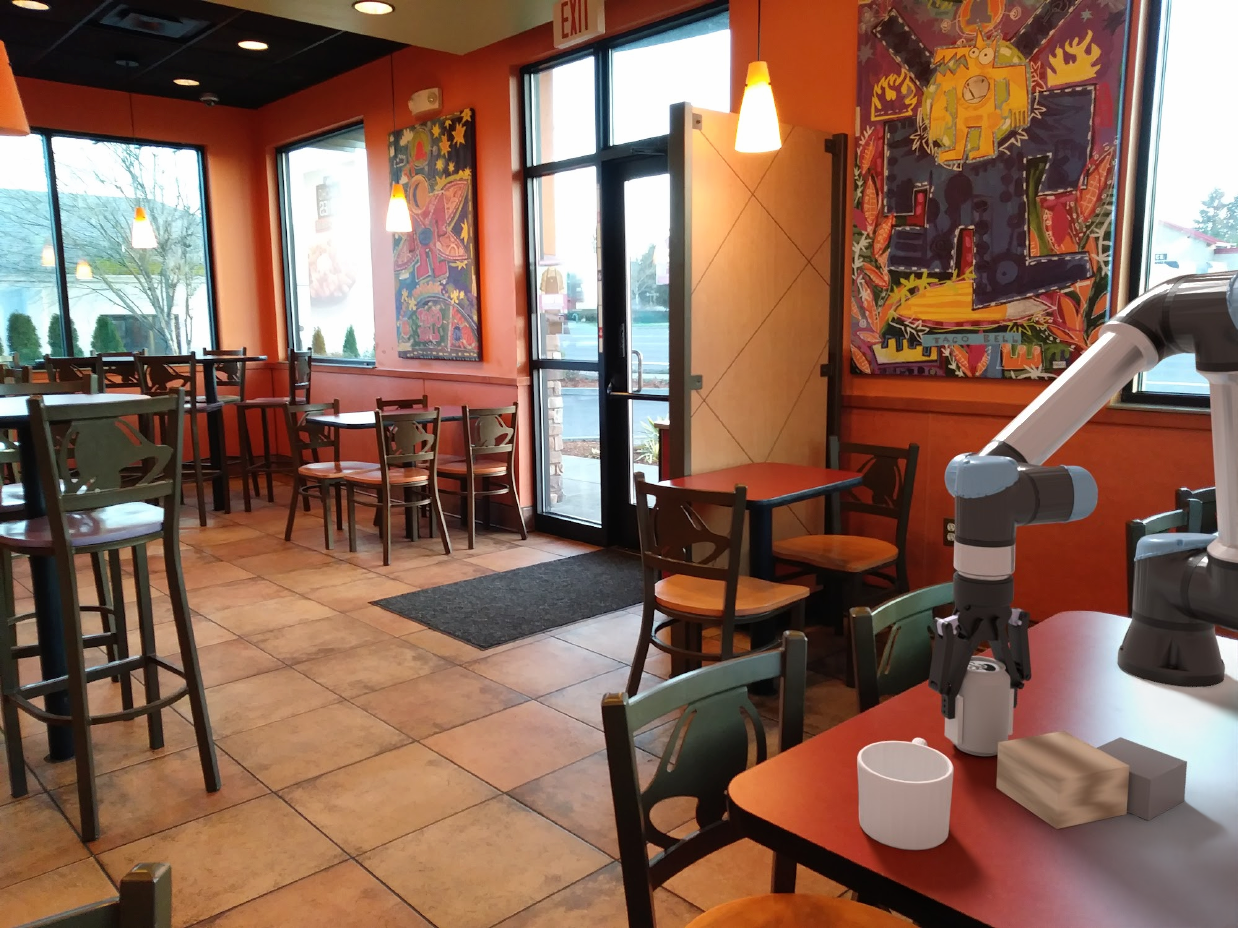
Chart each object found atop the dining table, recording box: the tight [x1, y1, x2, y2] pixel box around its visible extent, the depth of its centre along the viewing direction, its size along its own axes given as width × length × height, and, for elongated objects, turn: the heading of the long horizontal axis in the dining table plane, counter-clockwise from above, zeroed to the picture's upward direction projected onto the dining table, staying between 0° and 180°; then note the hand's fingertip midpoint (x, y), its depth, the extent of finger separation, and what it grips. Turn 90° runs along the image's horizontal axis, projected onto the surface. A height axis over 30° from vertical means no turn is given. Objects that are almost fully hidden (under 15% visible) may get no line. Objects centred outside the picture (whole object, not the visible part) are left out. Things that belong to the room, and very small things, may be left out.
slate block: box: [1096, 736, 1188, 821], centre depth 108 cm, size 8×8×5 cm
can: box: [950, 655, 1010, 757], centre depth 122 cm, size 8×8×12 cm
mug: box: [856, 737, 955, 851], centre depth 104 cm, size 13×10×8 cm
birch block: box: [995, 730, 1129, 830], centre depth 108 cm, size 10×10×6 cm
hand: (978, 734), depth 122 cm, fingers closed on can, 7 cm apart
